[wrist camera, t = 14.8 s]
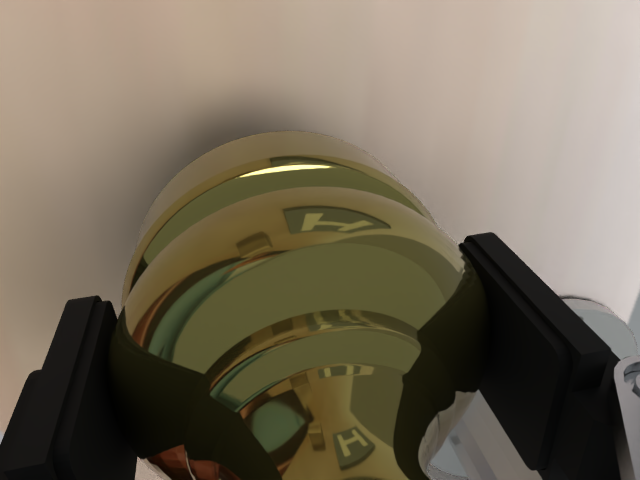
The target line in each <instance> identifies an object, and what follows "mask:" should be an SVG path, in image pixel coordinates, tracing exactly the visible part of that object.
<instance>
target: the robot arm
mask: <svg viewBox="0 0 640 480" xmlns="http://www.w3.org/2000/svg"><path fill="white" fill-rule="evenodd" d="M459 247H460V248H461V250H462V251H463V252H464V253H465V255H466V256H467V257H468V259H469V260H470V261H471V263H472V265H473V266H474V268H475V270H476V271H477V273H478V275H479V278H480V280H481V282H482V284H483V287H484V290H485V293H486V296H487V299H488V303H489V309H490V315H491V346H490V353H489V358H488V362H487V366H486V370H485V373H484V376H483V379H482V382H481V384H480V387H479V389H478V391H477V393H476V395H475V397H474V399H473V401H472V403H471V404H470V406H469V408H468V410H467V411H466V413H465V414H464V415H463V417H462V418H461V420H460V421H459V422H458V424H457V425H456V426H455V427H454V429H453V430H452V431H451V432H450V433H449V435H448V436H447V438H446V440H445V442H444V444H443V446H442V447H441V449H440V450H439V452H438V453H437V455H436V456H435V457H434V459H433V460H432V461H431V464H432V465H433V466H435V467H436V468H437V469H439V470H440V471H443V472H446V473H448V474H451V475H454V476H460V477H466V478H469V480H640V355H637V343H636V340H635V337H634V334H633V332H632V331H631V330H630V328H629V327H628V326H627V325H626V323H625V322H624V321H623V320H621V319H620V318H619V317H618V316H617V315H615V314H614V313H613V312H612V311H611V310H610V309H608V308H607V307H605V306H602V305H600V304H598V303H595V302H593V301H587V300H581V299H561V298H560V297H559V296H558V295H557V294H555V293H554V292H553V291H552V290H551V289H550V288H549V287H548V286H547V285H546V284H545V283H544V282H543V281H542V280H541V279H540V278H539V277H538V276H537V275H536V274H535V273H534V272H533V271H532V270H531V269H530V268H529V267H528V266H527V265H526V264H525V263H524V262H523V261H522V260H521V259H520V258H519V257H518V256H517V255H516V254H515V253H514V252H513V251H512V250H511V249H510V248H509V247H508V246H507V245H506V244H505V243H504V242H503V241H502V240H501V239H500V238H499V237H498V236H497V235H496V234H494V233H492V232H489V233H483V234H477V235H470V236H467V237H466V238H465V240H464V243H461V244H459ZM116 322H117V317H116V314H115V311H114V308H113V305H112V303H111V302H110V301H103V302H102V300H101V298H100V297H99V296H97V295H96V296H90V297H84V298H78V299H72V300H69V301H68V302H67V303H66V306H65V308H64V311H63V314H62V316H61V319H60V322H59V324H58V327H57V330H56V332H55V335H54V338H53V340H52V343H51V346H50V348H49V351H48V354H47V356H46V359H45V362H44V364H43V367H42V369H41V370H36V371H33V372H32V373H30V374H29V376H28V378H27V380H26V382H25V384H24V387H23V389H22V392H21V394H20V397H19V399H18V402H17V404H16V407H15V409H14V412H13V414H12V417H11V419H10V422H9V424H8V427H7V429H6V432H5V434H4V437H3V439H2V442H1V444H0V480H135V472H136V464H137V455H136V454H135V453H134V451H133V450H132V449H131V447H130V446H129V445H128V443H127V442H126V440H125V438H124V436H123V435H122V433H121V431H120V429H119V426H118V424H117V422H116V419H115V416H114V413H113V410H112V407H111V403H110V398H109V394H108V388H107V359H108V352H109V347H110V343H111V338H112V334H113V331H114V328H115V325H116Z"/></svg>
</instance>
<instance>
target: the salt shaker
mask: <svg viewBox="0 0 640 480" xmlns="http://www.w3.org/2000/svg"><path fill="white" fill-rule="evenodd" d="M490 346H491V315H490V309H489V303H488V299H487V296H486V293H485V290H484V287H483V284H482V282H481V280H480V278H479V275H478V273H477V271H476V270H475V268H474V266H473V265H472V263H471V261H470V260H469V259H468V257H467V256H466V255H465V253H464V252H463V251H462V250H461V248H460V247H459V246H458V245H457V244H456V243H455V242H454V241H453V240H452V239H451V238H450V237H449V236H448V235H447V234H446V233H444V232H443V231H442V230H441V229H440V228H438V227H437V225H436V223H435V221H434V220H433V218H432V217H431V215H430V213H429V212H428V211H427V209H426V208H425V207H424V205H423V204H422V203H421V202H420V201H419V200H418V199H417V198H416V197H415V196H414V195H413V194H412V193H411V192H410V191H409V190H408V189H407V188H405V187H404V186H403V185H402V184H400V183H399V181H398V180H397V179H396V178H395V176H394V175H393V174H392V173H391V172H390V171H389V170H388V169H387V168H386V167H385V166H384V165H383V164H382V163H381V162H379V161H378V160H377V159H376V158H374V157H373V156H372V155H370V154H369V153H367V152H366V151H364V150H362V149H360V148H358V147H357V146H355V145H353V144H350V143H348V142H345V141H343V140H340V139H337V138H334V137H331V136H327V135H322V134H318V133H311V132H303V131H276V132H267V133H260V134H255V135H251V136H247V137H243V138H240V139H237V140H234V141H231V142H228V143H226V144H223V145H221V146H219V147H217V148H215V149H213V150H211V151H209V152H207V153H205V154H203V155H202V156H200V157H199V158H197V159H196V160H194V161H193V162H191V163H190V164H189V165H187V166H186V167H185V168H184V169H182V170H181V171H180V172H179V173H178V174H177V175H176V176H175V177H174V178H173V179H172V180H171V181H170V182H169V183H168V184H167V185H166V186H165V187H164V189H163V190H162V191H161V192H160V194H159V195H158V196H157V198H156V199H155V201H154V202H153V204H152V206H151V207H150V209H149V211H148V213H147V215H146V217H145V219H144V221H143V224H142V227H141V230H140V233H139V236H138V240H137V245H136V250H135V253H134V255H133V257H132V260H131V262H130V264H129V267H128V270H127V273H126V277H125V282H124V286H123V293H122V311H121V313H120V315H119V317H118V320H117V322H116V325H115V328H114V331H113V334H112V338H111V343H110V347H109V352H108V359H107V388H108V394H109V398H110V403H111V407H112V410H113V413H114V416H115V419H116V422H117V424H118V426H119V429H120V431H121V433H122V435H123V436H124V438H125V440H126V442H127V443H128V445H129V446H130V447H131V449H132V450H133V451H134V453H135V454H136V455H137V456H138V457H139V458H140V459H141V460H142V461H143V462H144V463H145V465H146V466H147V467H148V468H150V469H151V470H152V471H153V472H154V473H155V474H157V475H158V476H159V477H161V478H162V479H164V480H431V479H430V477H429V476H428V473H427V471H428V468H429V466H430V463H431V461H432V460H433V459H434V457H435V456H436V455H437V453H438V452H439V450H440V449H441V447H442V446H443V444H444V442H445V440H446V438H447V436H448V435H449V433H450V432H451V431H452V430H453V429H454V427H455V426H456V425H457V424H458V422H459V421H460V420H461V418H462V417H463V415H464V414H465V413H466V411H467V410H468V408H469V406H470V404H471V403H472V401H473V399H474V397H475V395H476V393H477V391H478V389H479V387H480V384H481V382H482V379H483V376H484V373H485V370H486V366H487V362H488V358H489V353H490Z"/></svg>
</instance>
